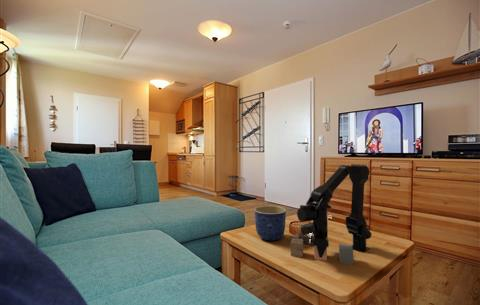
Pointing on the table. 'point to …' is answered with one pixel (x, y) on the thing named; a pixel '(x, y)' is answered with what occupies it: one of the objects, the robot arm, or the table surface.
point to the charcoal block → (346, 254)
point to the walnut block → (297, 247)
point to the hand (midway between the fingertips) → (320, 254)
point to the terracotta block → (316, 255)
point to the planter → (270, 222)
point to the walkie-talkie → (302, 237)
